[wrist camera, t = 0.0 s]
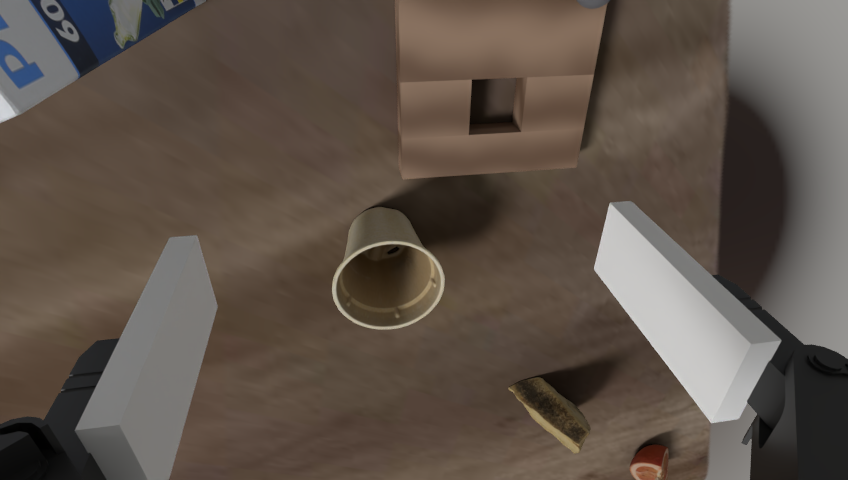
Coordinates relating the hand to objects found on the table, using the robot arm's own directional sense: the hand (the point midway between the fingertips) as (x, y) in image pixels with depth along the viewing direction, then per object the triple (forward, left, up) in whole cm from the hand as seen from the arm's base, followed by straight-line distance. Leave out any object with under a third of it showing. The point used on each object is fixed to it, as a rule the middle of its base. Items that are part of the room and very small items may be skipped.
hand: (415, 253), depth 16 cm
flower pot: (+17, +1, -28) cm, 33 cm away
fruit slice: (+62, +41, -28) cm, 79 cm away
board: (-1, +11, -28) cm, 30 cm away
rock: (+45, +22, -28) cm, 57 cm away
